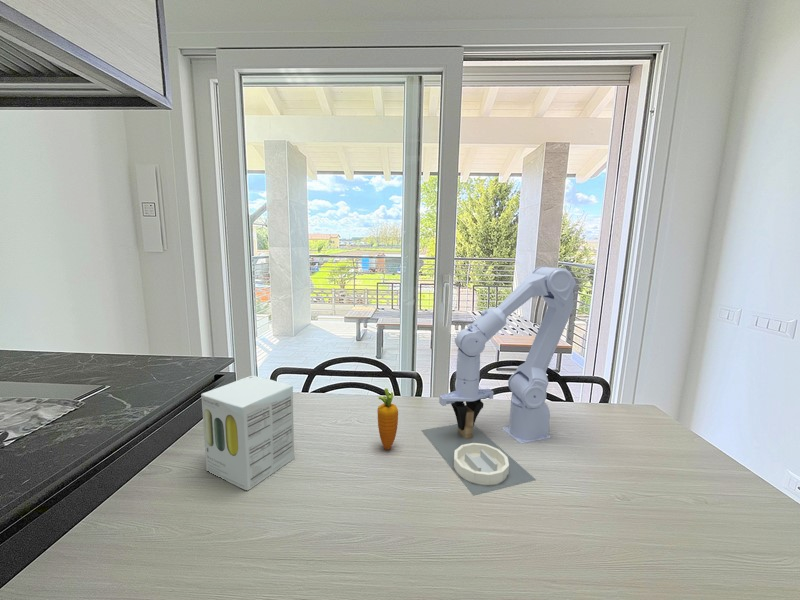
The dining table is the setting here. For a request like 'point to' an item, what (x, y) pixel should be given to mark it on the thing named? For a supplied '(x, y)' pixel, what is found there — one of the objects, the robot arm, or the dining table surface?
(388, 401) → the carrot
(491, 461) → the plate
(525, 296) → the robot arm
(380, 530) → the dining table surface
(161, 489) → the dining table surface
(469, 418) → the tan cardboard box
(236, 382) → the supplement box
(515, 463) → the slate board
